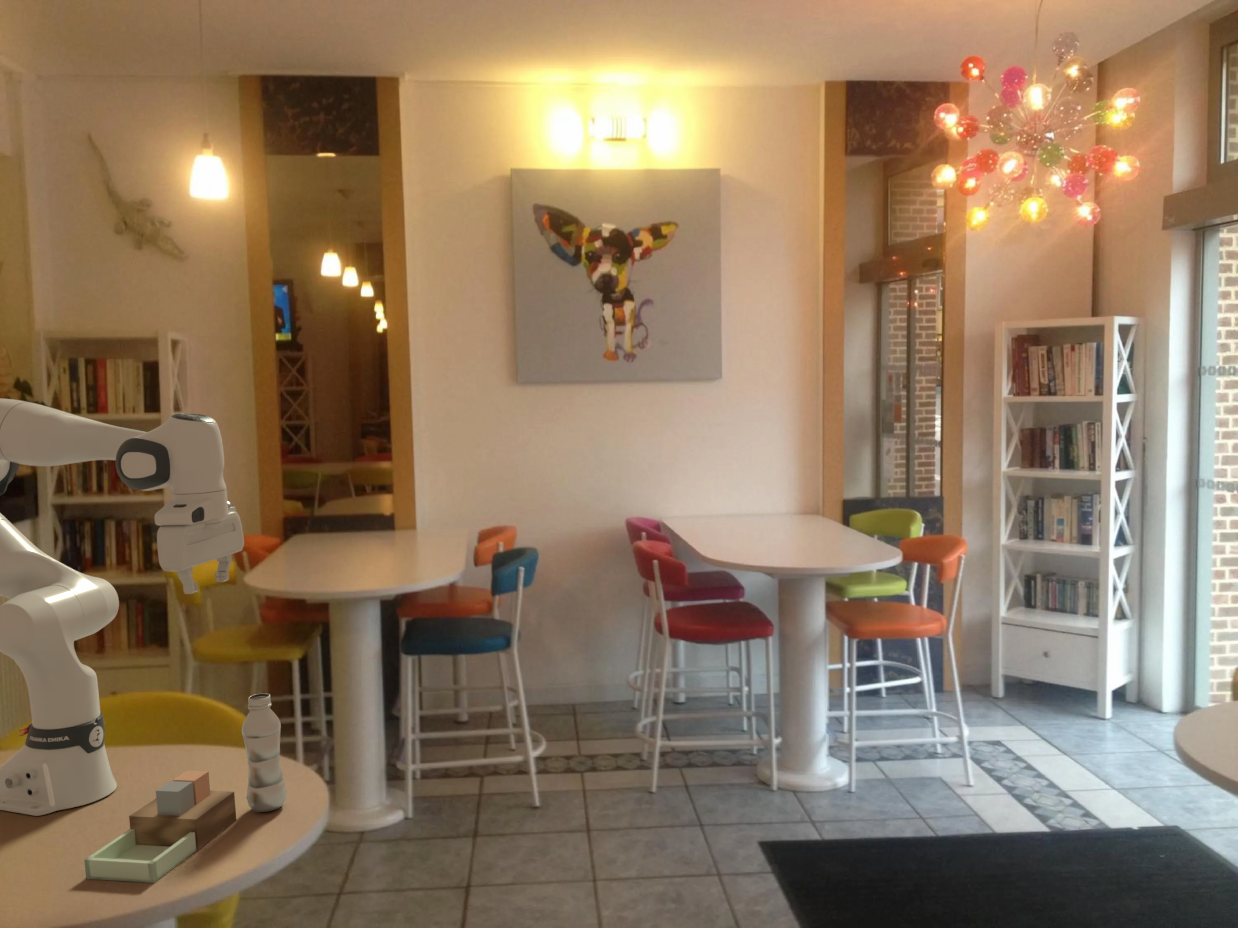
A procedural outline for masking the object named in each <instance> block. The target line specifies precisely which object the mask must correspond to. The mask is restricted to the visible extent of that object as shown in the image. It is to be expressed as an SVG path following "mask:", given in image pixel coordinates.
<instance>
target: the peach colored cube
mask: <svg viewBox="0 0 1238 928" xmlns="http://www.w3.org/2000/svg"><path fill="white" fill-rule="evenodd" d="M209 774H210V772H209V771H204V770H186V771H184V772H183V773H181V774H180V775H178V776H177V777H174V779H172V781H181V782H193V791H194V803H195V804H198V803H199V802H200V801H202V800H203V799H205V798H206V797H208V796H209V795H210V791H211V785H210V775H209Z"/></svg>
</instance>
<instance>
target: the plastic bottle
mask: <svg viewBox="0 0 1238 928" xmlns="http://www.w3.org/2000/svg"><path fill="white" fill-rule="evenodd" d="M247 700H248V702H247V703H248V705H247V709H248V710H249V713H248V714H247V716H246V717H245V718H244V720H243V723H242V726H241V735H242V739H243V743H244V746H245V752H246V753H245V754H246V759H247V766H248V773H247V775H248V776H247V777H248V781H247V782H248V783H247V784H248V785H247V789H246V791H247V792H246V800H247V803H248V806H249V808H250V810H252V811H254V812H257V813H265V812H271V811H274V810H277V809H279V808H280V807H283V805H284V804H285V802H286V799H287V785H286V782H285V779H284V776H283V770H282V765H281V748H280V747H281V746H280V745H281V732H282V731H281V728H282V726H281V720H280V718H279V717H278V716H277V714H276V713H275V712H274V711H273V710H272V709H271V706H272V702H271V700H272V699H271V694H270V693H266V692H265V693H263V692H262V693H256V694H252V695H250V696H249V697H248V698H247Z"/></svg>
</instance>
